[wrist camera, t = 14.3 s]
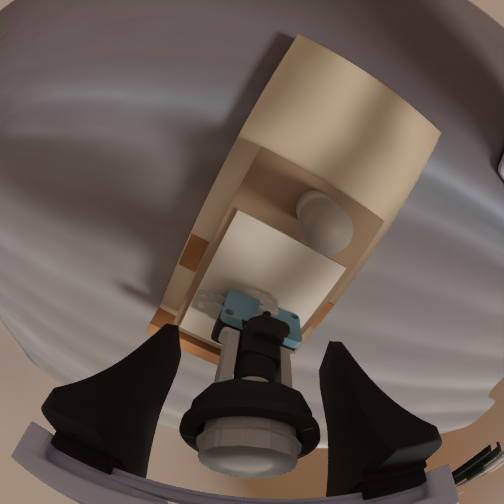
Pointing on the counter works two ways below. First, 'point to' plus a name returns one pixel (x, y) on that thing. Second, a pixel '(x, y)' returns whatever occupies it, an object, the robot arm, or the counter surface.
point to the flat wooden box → (314, 157)
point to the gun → (476, 464)
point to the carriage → (281, 244)
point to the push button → (250, 391)
